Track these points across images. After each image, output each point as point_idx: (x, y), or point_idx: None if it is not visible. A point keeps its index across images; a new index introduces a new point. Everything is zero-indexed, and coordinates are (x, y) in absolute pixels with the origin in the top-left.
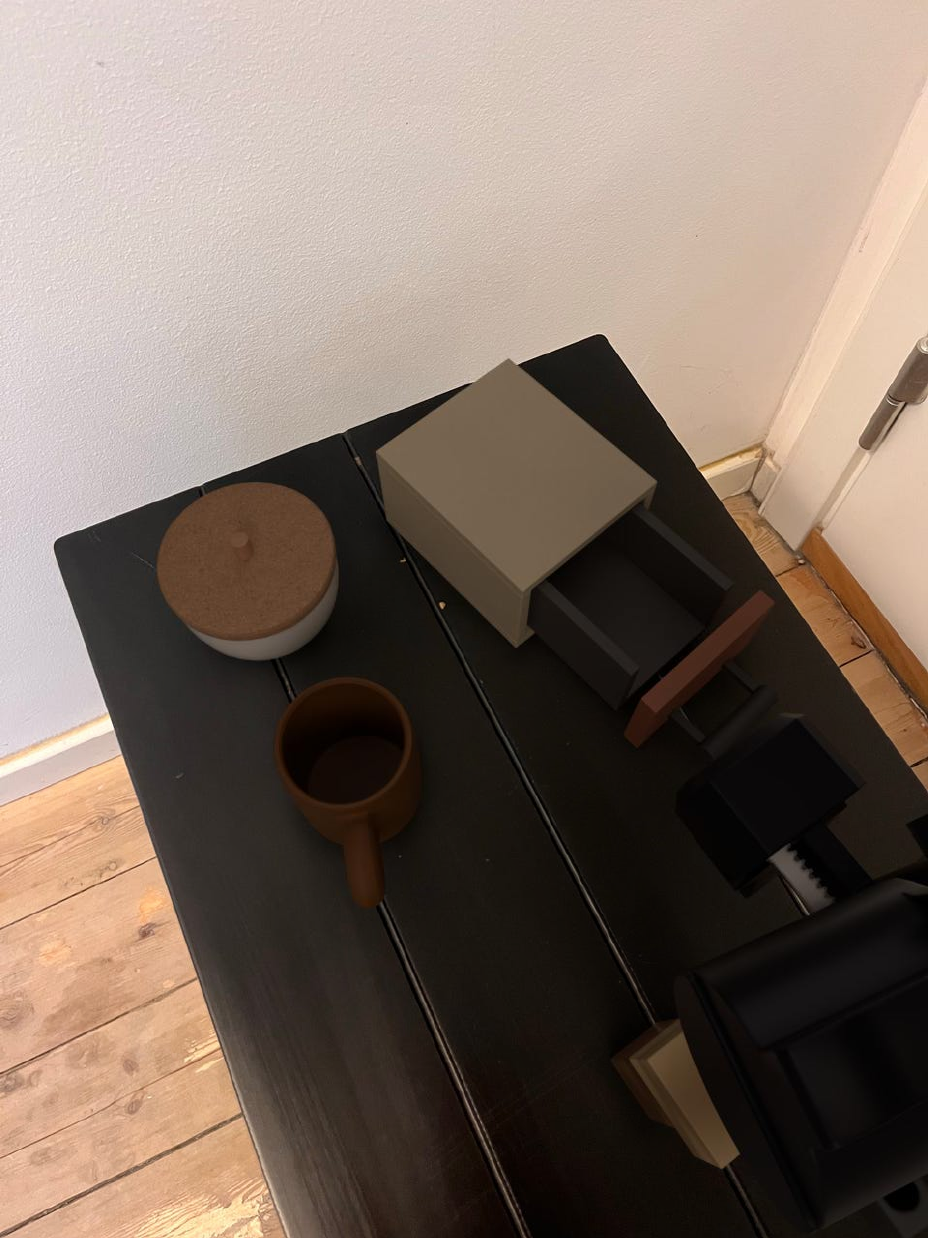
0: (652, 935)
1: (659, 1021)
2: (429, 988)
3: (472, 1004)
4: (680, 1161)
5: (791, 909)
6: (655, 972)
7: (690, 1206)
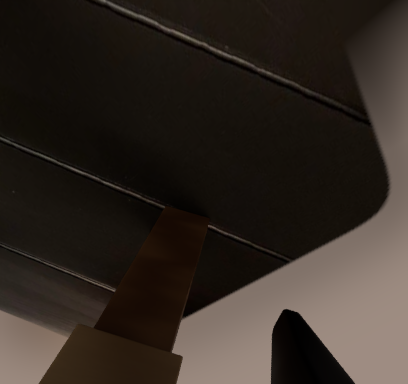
0: (121, 159)
1: (164, 208)
2: (62, 265)
3: (83, 259)
4: (230, 259)
5: (188, 52)
6: (141, 180)
7: (249, 273)
